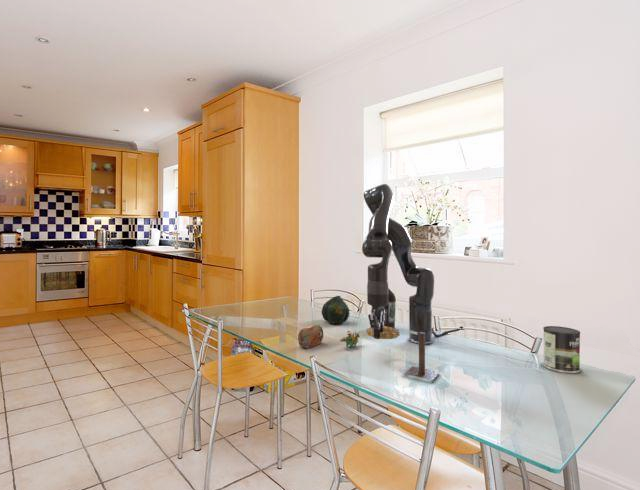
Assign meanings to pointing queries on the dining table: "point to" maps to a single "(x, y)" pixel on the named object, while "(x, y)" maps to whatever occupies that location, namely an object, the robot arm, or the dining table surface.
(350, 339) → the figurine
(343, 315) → the squash
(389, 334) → the brass ring
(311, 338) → the reddish brown stone
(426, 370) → the rack
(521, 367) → the dining table surface
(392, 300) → the olive oil
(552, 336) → the coffee can
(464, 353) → the dining table surface
